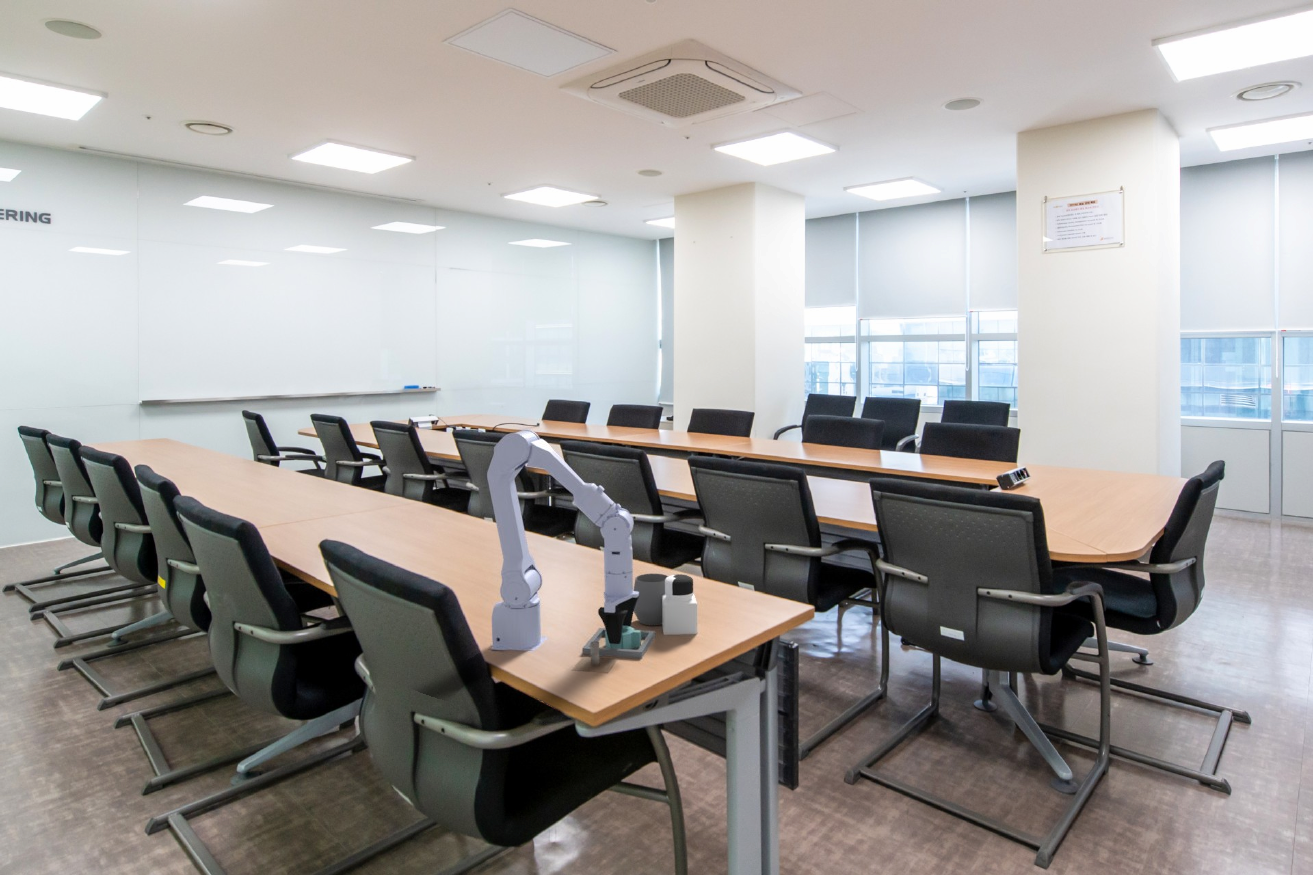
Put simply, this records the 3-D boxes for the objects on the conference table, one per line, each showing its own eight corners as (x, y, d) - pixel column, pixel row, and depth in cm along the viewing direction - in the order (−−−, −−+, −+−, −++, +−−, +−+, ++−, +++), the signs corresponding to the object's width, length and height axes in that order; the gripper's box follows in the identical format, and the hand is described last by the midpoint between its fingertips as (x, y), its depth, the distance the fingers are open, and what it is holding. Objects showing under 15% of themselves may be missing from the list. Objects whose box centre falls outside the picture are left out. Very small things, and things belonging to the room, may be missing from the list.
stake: (571, 673, 142) (571, 648, 142) (583, 659, 149) (582, 635, 148) (607, 675, 140) (607, 650, 140) (618, 661, 147) (617, 637, 147)
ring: (603, 649, 152) (602, 634, 152) (610, 639, 158) (610, 624, 157) (637, 651, 151) (636, 636, 150) (643, 641, 156) (643, 626, 156)
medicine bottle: (694, 625, 168) (694, 571, 166) (697, 636, 160) (697, 580, 159) (662, 626, 167) (661, 572, 166) (663, 637, 160) (663, 581, 159)
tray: (582, 656, 150) (582, 648, 150) (600, 636, 162) (599, 627, 161) (641, 661, 147) (641, 652, 147) (655, 639, 159) (655, 631, 159)
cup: (637, 630, 165) (636, 585, 164) (627, 617, 174) (626, 574, 173) (679, 626, 167) (678, 581, 166) (667, 613, 176) (666, 570, 175)
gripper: (628, 581, 145) (630, 650, 146) (646, 562, 159) (647, 625, 160) (593, 579, 147) (594, 648, 148) (613, 560, 161) (614, 623, 162)
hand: (619, 636), depth 154 cm, fingers open, 7 cm apart
